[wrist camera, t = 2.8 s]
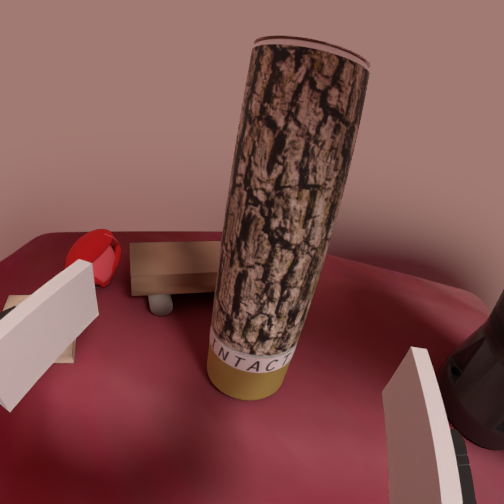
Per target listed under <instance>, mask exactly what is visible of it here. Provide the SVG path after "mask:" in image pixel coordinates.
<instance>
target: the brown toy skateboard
mask: <svg viewBox="0 0 504 504" xmlns="http://www.w3.org/2000/svg"><path fill="white" fill-rule="evenodd" d="M220 248H221V241H196V242H142V243H130V273H131V291H132V296H143V295H148V298H149V305H150V310H151V312H152V313H153V314H154V315H157V316H165V315H167V314H169V313H170V312H171V311H172V309H173V303H172V299H171V295H170V294H183V293H200V292H215V287H216V279H217V271H218V263H219V255H220Z"/></svg>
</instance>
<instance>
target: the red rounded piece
mask: <svg viewBox="0 0 504 504" xmlns="http://www.w3.org/2000/svg"><path fill="white" fill-rule="evenodd" d="M120 257H121V247H120V245H119V243H118V241H117V240H116V239H115V238H114V235H113V233H112V232H111V231H109V230H106V229H97V230H93V231H91V232H89V233H87V234H85V235H83V236H82V237H81V238H79V239H78V240H77V241H76V242H75V243H74V245H73V246H72V247H71V249H70V250H69V252H68V255H67V257H66V262H65V267H66V268H67V267H69V266H70V265H71V264H73V263H74V262H76V261H77V260H78V259H81V260H84V261H87V262H90V263H92V266H93V275H94V284H99V285H100V286H101V287H106V286H107V285H109V284H110V280H111V278H112V277H113V275H114V273H115V271H116V269H117V267H118V264H119V261H120Z"/></svg>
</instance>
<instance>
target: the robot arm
mask: <svg viewBox="0 0 504 504" xmlns="http://www.w3.org/2000/svg"><path fill="white" fill-rule="evenodd" d="M98 315H99V313H98V306H97V299H96V292H95V284H94V275H93V266H92V263H90V262H87V261H84V260H81V259H78V260H77V261H76V262H74V263H73V264H71V265H70V266H69V267H67V268H66V269H65V270H63V271H62V272H60V273H59V274H58V275H56V276H55V277H54V278H52V279H51V280H50V281H48V282H47V283H46V284H45V285H43V286H42V287H41V288H39V289H38V290H37V291H35V292H34V293H33V294H32V295H30V296H29V297H28V298H27V299H25V300H24V301H23V302H22V303H20V304H19V305H18V306H17V307H16V306H13V307H11V308H9V309H6V310H4V311H3V312H2V313H0V404H1V405H2V406H3V407H4V408H5V409H6V410H8V411H9V412H11V411H12V410H13V408H14V407H15V406H16V405H17V404H18V402H19V401H20V400H21V399H22V398H23V397H24V395H25V394H26V393H27V392H28V391H29V390H30V388H31V387H32V386H33V385H34V384H35V383H36V382H37V380H38V379H39V378H40V377H41V376H42V375H43V374H44V373H45V371H46V370H47V369H48V368H49V367H50V366H51V365H52V364H53V363H54V361H55V360H56V359H57V358H58V357H59V356H60V355H61V354H62V353H63V352H64V351H65V350H66V348H67V347H68V346H69V345H70V344H71V343H72V342H73V341H74V340H75V339H76V338H77V337H78V336H79V335H80V334H81V333H82V331H83V330H84V329H85V328H86V327H87V326H88V325H89V324H90V323H91V322H92V321H93V320H94V319H95V318H96V317H97V316H98ZM382 399H383V408H384V417H385V428H386V440H387V455H388V475H389V504H477V503H476V499H475V493H474V486H473V480H472V475H471V469H470V466H469V459H468V456H467V450H466V446H465V441H464V439H463V438H462V436H461V435H460V433H459V431H460V432H461V433H462V434H463V435H464V436H466V437H467V438H468V439H469V440H471V441H472V442H474V443H476V444H477V445H480V446H482V447H484V448H487V449H492V450H504V290H503V292H502V294H501V296H500V298H499V300H498V301H497V303H496V305H495V307H494V309H493V311H492V313H491V314H490V316H489V318H488V319H487V321H486V322H485V323H484V324H483V325H482V326H480V327H479V328H478V329H477V330H476V331H475V332H474V333H473V334H472V335H470V336H469V337H468V338H467V339H466V340H465V341H463V342H462V343H461V344H460V345H459V346H457V347H456V348H455V349H454V350H453V351H452V352H451V353H450V355H449V356H448V357H447V359H446V360H445V362H444V363H443V365H442V366H441V368H440V370H439V373H438V377H437V379H436V376H435V373H434V370H433V366H432V363H431V360H430V357H429V354H428V351H427V349H423V348H417V347H410V349H409V351H408V352H407V354H406V356H405V357H404V359H403V360H402V362H401V364H400V365H399V367H398V368H397V370H396V372H395V373H394V375H393V376H392V378H391V379H390V381H389V382H388V384H387V385H386V387H385V388H384V390H383V391H382ZM446 414H447V416H448V417H449V419H450V420H451V421H452V423H453V424H454V425H455V427H456V428H457V429H458V430H459V431H458V430H450V428H449V424H448V420H447V416H446Z"/></svg>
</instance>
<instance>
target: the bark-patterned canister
mask: <svg viewBox="0 0 504 504" xmlns="http://www.w3.org/2000/svg"><path fill="white" fill-rule="evenodd" d="M254 44H255V46H254V48H253V49H252V54H251V59H250V64H249V70H248V75H247V81H246V86H245V93H244V98H243V103H242V109H241V115H240V121H239V127H238V133H237V140H236V146H235V152H234V158H233V165H232V171H231V178H230V184H229V191H228V198H227V205H226V212H225V219H224V227H223V233H222V240H221V248H220V255H219V263H218V271H217V279H216V287H215V295H214V303H213V312H212V320H211V329H210V341H209V350H208V360H207V372H208V375H209V378H210V380H211V381H212V383H213V384H214V385H215V386H216V387H217V388H218V389H219V390H220V391H221V392H223V393H224V394H226V395H228V396H230V397H232V398H235V399H239V400H247V401H252V400H259V399H263V398H266V397H268V396H270V395H272V394H273V393H275V392H276V391H277V390H278V389H279V387H280V386H281V384H282V382H283V380H284V377H285V374H286V372H287V369H288V366H289V364H290V361H291V358H292V356H293V354H294V351H295V348H296V345H297V343H298V340H299V337H300V334H301V331H302V328H303V325H304V322H305V320H306V317H307V314H308V311H309V308H310V305H311V302H312V298H313V295H314V292H315V289H316V286H317V283H318V280H319V276H320V273H321V270H322V267H323V263H324V260H325V257H326V253H327V250H328V247H329V243H330V240H331V236H332V232H333V229H334V225H335V222H336V218H337V214H338V211H339V207H340V203H341V200H342V196H343V192H344V188H345V184H346V180H347V176H348V172H349V168H350V164H351V160H352V155H353V151H354V146H355V143H356V138H357V134H358V129H359V124H360V120H361V115H362V110H363V105H364V99H365V95H366V90H367V84H368V78H369V67H370V63H369V62H368V61H367V60H366V59H364V58H363V57H361V56H360V55H358V54H356V53H354V52H352V51H350V50H347V49H345V48H342V47H339V46H336V45H333V44H330V43H326V42H322V41H318V40H313V39H308V38H301V37H292V36H267V37H262V38H258V39H256V40H255V41H254Z"/></svg>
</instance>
